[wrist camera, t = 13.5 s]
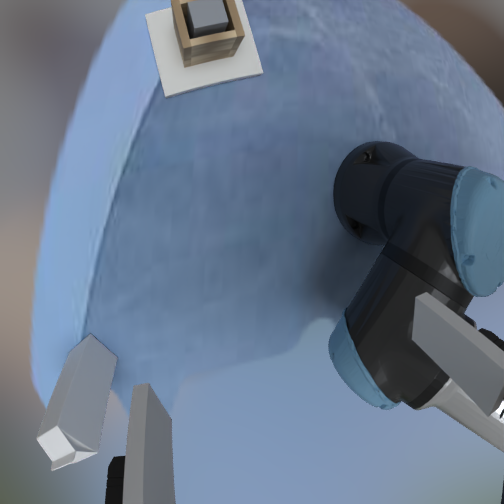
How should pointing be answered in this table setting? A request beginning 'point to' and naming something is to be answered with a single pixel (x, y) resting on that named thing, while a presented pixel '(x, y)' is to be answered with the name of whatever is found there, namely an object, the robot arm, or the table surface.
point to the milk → (78, 404)
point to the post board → (203, 70)
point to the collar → (211, 44)
